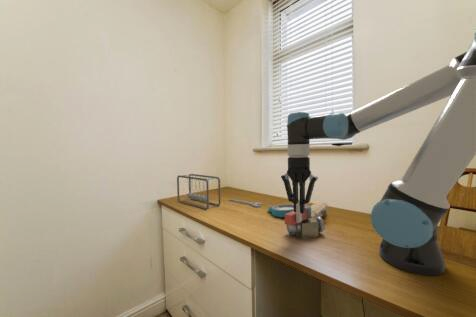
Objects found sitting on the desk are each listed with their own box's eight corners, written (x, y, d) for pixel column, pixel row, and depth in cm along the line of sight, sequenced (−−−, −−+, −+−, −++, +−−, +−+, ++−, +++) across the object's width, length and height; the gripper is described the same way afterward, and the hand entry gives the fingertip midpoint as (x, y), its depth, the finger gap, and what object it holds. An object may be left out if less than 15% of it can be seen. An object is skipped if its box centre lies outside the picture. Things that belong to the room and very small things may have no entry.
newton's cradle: (177, 202, 134) (176, 175, 133) (190, 198, 142) (189, 173, 141) (207, 210, 115) (207, 179, 114) (221, 206, 123) (220, 177, 122)
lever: (303, 214, 85) (303, 204, 84) (313, 217, 81) (313, 207, 81) (282, 223, 75) (282, 212, 75) (293, 226, 72) (293, 215, 72)
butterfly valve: (257, 223, 102) (319, 230, 84) (255, 209, 102) (317, 213, 84) (280, 210, 123) (334, 213, 105) (279, 198, 123) (332, 200, 105)
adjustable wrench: (228, 201, 136) (228, 198, 136) (235, 199, 140) (235, 197, 140) (258, 208, 118) (258, 205, 118) (264, 206, 123) (264, 203, 123)
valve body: (314, 229, 87) (315, 213, 86) (325, 235, 80) (325, 218, 80) (285, 232, 84) (285, 216, 83) (294, 239, 77) (294, 222, 77)
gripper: (319, 156, 73) (320, 221, 74) (285, 156, 80) (286, 215, 81) (314, 157, 66) (314, 228, 67) (277, 157, 74) (278, 221, 75)
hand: (299, 221), depth 74 cm, fingers closed
